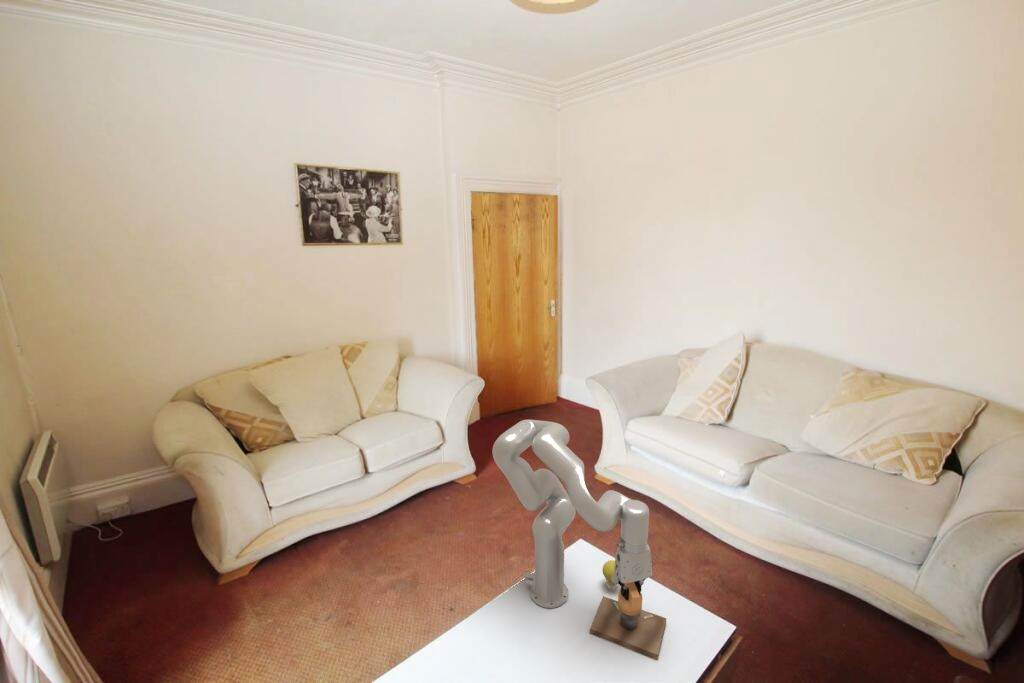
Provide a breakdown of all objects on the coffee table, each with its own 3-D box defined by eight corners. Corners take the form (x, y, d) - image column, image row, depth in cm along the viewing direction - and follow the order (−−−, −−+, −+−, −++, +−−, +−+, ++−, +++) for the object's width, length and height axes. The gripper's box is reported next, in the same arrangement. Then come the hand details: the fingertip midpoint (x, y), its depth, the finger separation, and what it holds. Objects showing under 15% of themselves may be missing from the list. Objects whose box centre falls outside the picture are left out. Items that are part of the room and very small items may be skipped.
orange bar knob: (646, 619, 137) (648, 596, 135) (622, 620, 137) (624, 597, 135) (635, 591, 147) (636, 570, 145) (613, 592, 147) (614, 571, 145)
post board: (589, 633, 142) (590, 612, 140) (602, 601, 154) (603, 580, 152) (657, 660, 133) (659, 637, 131) (665, 623, 145) (667, 602, 143)
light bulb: (621, 596, 156) (623, 571, 153) (601, 593, 157) (602, 568, 155) (621, 581, 162) (622, 557, 160) (601, 579, 164) (602, 554, 161)
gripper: (614, 557, 130) (611, 611, 135) (666, 545, 135) (661, 598, 139) (602, 540, 137) (600, 592, 142) (651, 529, 141) (647, 580, 146)
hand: (630, 594), depth 140 cm, fingers open, 3 cm apart
